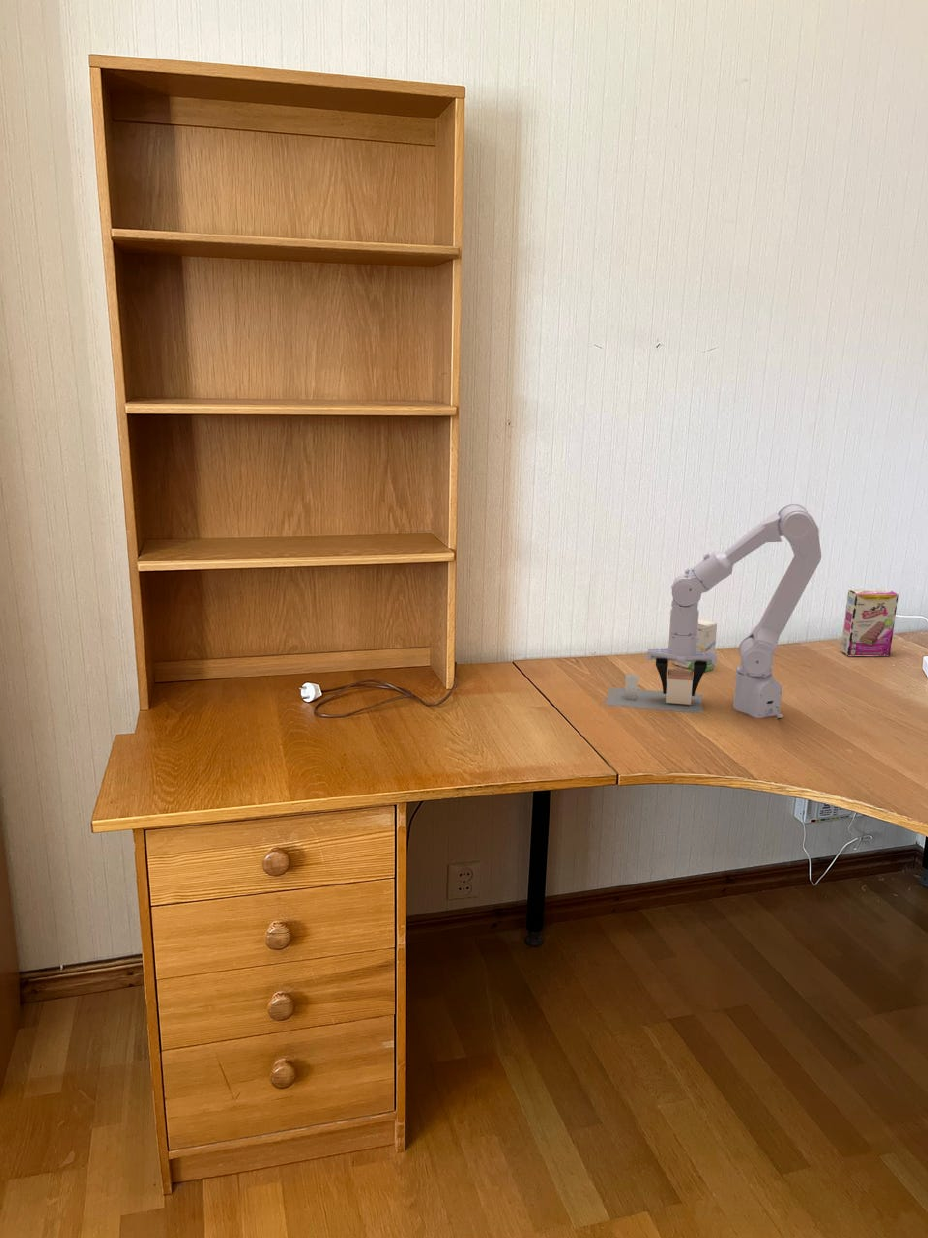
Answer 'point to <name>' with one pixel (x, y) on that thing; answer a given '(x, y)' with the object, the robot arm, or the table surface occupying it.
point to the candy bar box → (869, 622)
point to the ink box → (703, 642)
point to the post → (631, 686)
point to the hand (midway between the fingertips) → (679, 693)
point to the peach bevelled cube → (679, 686)
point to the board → (651, 701)
